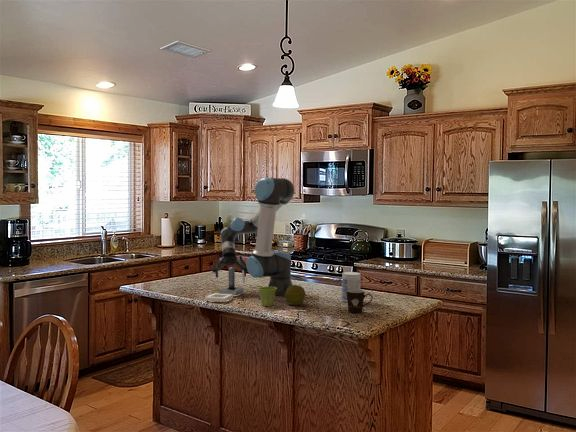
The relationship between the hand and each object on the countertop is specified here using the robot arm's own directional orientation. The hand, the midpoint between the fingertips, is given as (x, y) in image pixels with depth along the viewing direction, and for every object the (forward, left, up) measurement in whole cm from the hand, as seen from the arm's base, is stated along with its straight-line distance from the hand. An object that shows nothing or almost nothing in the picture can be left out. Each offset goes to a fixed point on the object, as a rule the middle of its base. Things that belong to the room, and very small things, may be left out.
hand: (231, 281), depth 286 cm
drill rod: (+1, -1, -8) cm, 8 cm away
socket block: (+1, -1, -8) cm, 8 cm away
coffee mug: (-73, +20, -8) cm, 76 cm away
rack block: (+1, +15, -8) cm, 17 cm away
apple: (-40, +13, -8) cm, 43 cm away
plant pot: (-27, +18, -8) cm, 34 cm away
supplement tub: (-65, -4, -8) cm, 66 cm away
